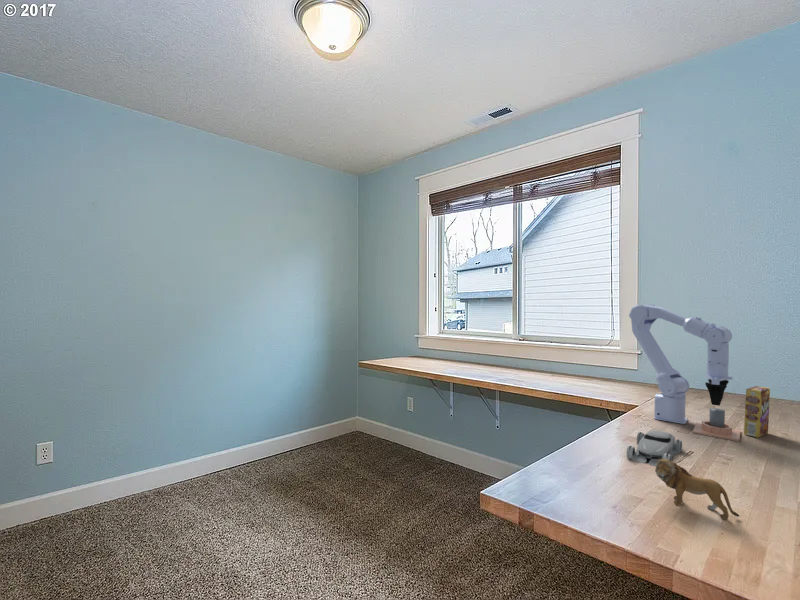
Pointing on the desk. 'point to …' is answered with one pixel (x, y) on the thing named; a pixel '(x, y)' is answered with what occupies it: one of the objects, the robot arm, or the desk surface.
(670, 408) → the robot arm
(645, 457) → the car model
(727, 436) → the tube holder
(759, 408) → the candy box
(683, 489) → the lion figurine
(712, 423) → the tube
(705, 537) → the desk surface
